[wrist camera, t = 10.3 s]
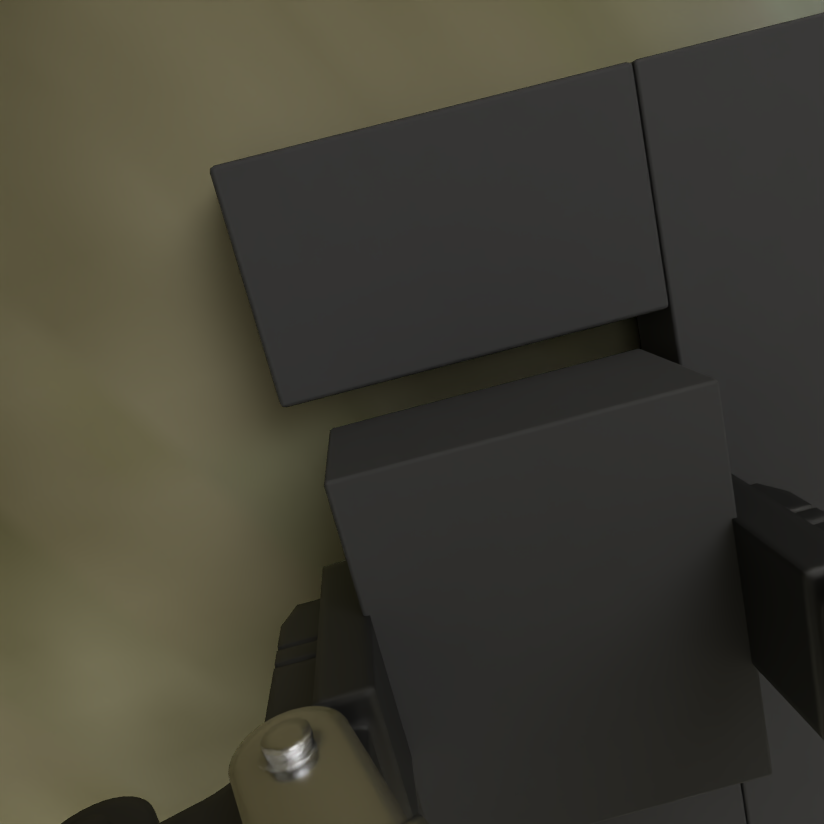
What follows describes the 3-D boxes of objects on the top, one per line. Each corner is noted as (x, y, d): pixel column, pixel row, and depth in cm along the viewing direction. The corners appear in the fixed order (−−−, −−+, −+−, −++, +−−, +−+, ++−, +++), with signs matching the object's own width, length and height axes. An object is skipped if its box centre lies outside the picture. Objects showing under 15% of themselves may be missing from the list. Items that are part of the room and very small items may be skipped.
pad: (329, 428, 11) (322, 483, 9) (640, 347, 11) (719, 378, 9) (420, 745, 13) (436, 868, 10) (693, 672, 13) (774, 776, 10)
